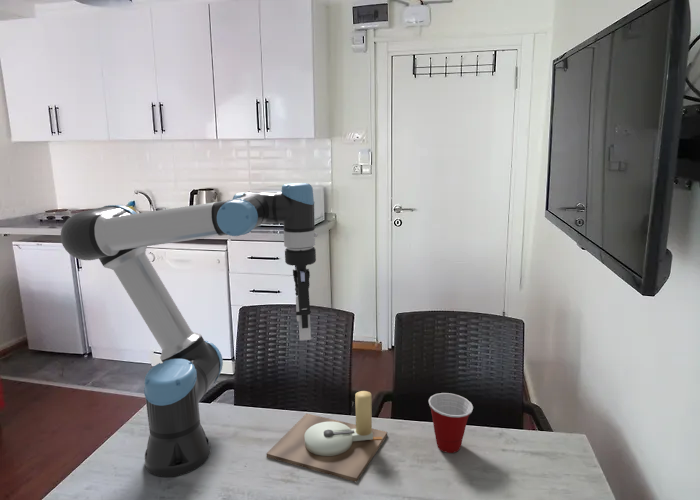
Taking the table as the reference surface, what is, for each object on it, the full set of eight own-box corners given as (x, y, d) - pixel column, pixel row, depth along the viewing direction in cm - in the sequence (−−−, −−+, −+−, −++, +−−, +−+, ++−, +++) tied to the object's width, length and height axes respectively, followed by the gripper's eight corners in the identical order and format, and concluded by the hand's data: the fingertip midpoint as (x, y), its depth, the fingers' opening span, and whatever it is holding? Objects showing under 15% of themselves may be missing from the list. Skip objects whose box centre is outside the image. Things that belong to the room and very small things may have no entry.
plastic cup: (472, 461, 120) (474, 416, 118) (426, 457, 122) (427, 412, 120) (471, 436, 130) (472, 393, 128) (428, 432, 133) (429, 390, 130)
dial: (306, 458, 121) (304, 412, 118) (303, 430, 132) (301, 388, 130) (376, 451, 123) (375, 406, 120) (367, 424, 135) (367, 383, 132)
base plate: (266, 457, 124) (266, 452, 123) (306, 416, 141) (306, 412, 141) (356, 482, 114) (356, 477, 114) (387, 435, 132) (387, 431, 131)
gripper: (320, 257, 112) (323, 347, 116) (311, 237, 136) (314, 312, 140) (286, 259, 111) (290, 350, 115) (283, 238, 135) (287, 314, 139)
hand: (303, 329), depth 128 cm, fingers open, 13 cm apart
